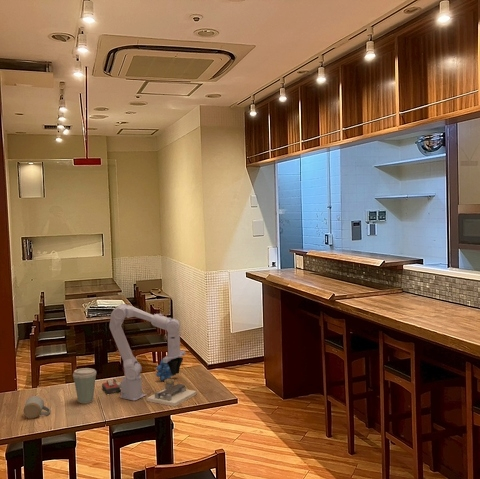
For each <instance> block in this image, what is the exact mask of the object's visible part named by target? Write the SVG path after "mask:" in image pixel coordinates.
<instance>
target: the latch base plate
mask: <svg viewBox="0 0 480 479" xmlns="http://www.w3.org/2000/svg"><path fill="white" fill-rule="evenodd" d="M164 384H165V388H164V389H162V390H160V391H156V392H154V394H152V395H150V396H147V398H146V402H151V403H155V404H159V405H166V406H169V407H170V406H171V407H176V406H178V405H180V404H182V403H183V402H185V401H187V400H189V399H191V398H192V397H194V396H196V395H197V393H198V392H197V390H193V389H187V387H186V386H185V387H184V388H182V389H180V390H178V391H176V392H174V393H172V394H167V395H166V397H164V396H159V393H161V392H163V391H165V390H167V389H169V388H171V387H173V386H175V382H174V383H172V384H169V383H164Z"/></svg>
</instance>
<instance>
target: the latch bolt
mask: <svg viewBox="0 0 480 479" xmlns="http://www.w3.org/2000/svg"><path fill="white" fill-rule="evenodd" d="M163 381H164V384H165V383H169V384H172V383H174V384H175V382H176V380H175V378H174V379H173V378H170V379H169V378H168V379H164V380H163Z"/></svg>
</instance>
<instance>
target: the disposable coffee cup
mask: <svg viewBox="0 0 480 479" xmlns="http://www.w3.org/2000/svg"><path fill="white" fill-rule="evenodd" d="M96 376H97V370H96V369H95V368H89V367H85V368H84V367H83V368H78V369H75V370H74V371H73V373H72V378H73V381H74V386H75V391H76V396H77V401H78V403H79V404H84V405H85V404H90V403H92V402H93V401H94V396H95V387H96Z"/></svg>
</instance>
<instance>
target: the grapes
mask: <svg viewBox="0 0 480 479" xmlns="http://www.w3.org/2000/svg"><path fill="white" fill-rule="evenodd" d="M155 369H156V371H157V372H156V374H155V375H156V377H157V378H159V381H164V380H166V379H168V378H169V379H172V378H171V377H173V376H175V375H172V374H171V370H170V368H169V365H168V364H167V363H163V359H161V360H160V364H157V366H156V368H155Z"/></svg>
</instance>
